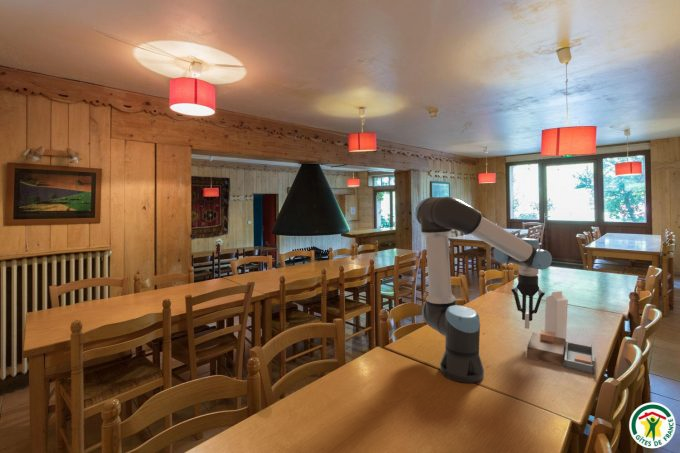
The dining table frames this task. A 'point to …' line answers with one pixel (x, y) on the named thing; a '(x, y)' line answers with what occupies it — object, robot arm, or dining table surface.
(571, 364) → the tray
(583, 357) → the tile
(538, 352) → the brown flat block
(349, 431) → the dining table surface
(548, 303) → the milk
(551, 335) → the tile
